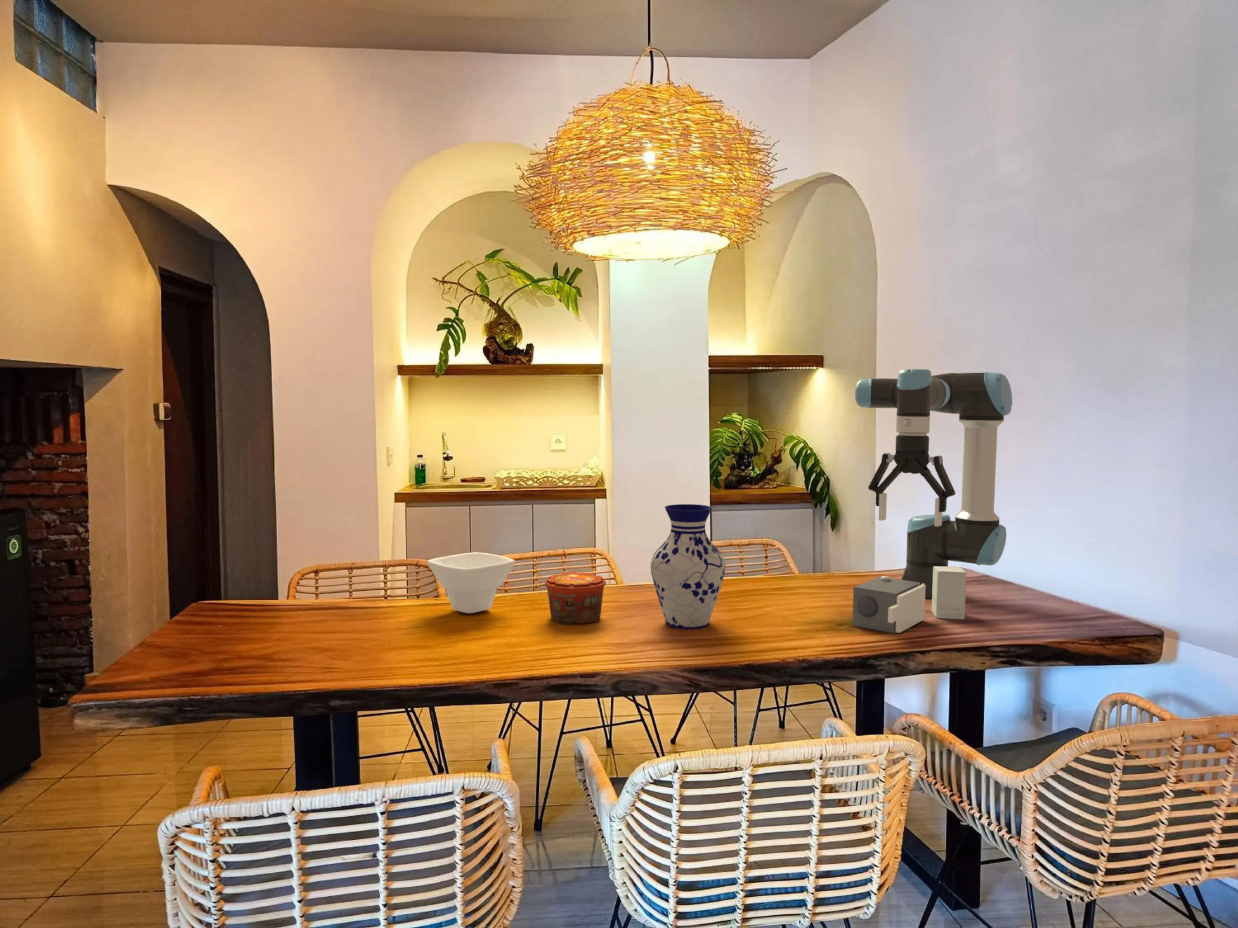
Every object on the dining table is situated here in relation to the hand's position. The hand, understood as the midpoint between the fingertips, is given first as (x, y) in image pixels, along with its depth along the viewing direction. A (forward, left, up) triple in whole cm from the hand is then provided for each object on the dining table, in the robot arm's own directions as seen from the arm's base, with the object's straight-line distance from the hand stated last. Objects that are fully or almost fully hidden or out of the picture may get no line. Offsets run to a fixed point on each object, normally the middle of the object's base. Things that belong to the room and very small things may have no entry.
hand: (909, 522), depth 206 cm
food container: (+40, -72, -28) cm, 87 cm away
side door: (-7, -2, -28) cm, 29 cm away
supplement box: (-27, +1, -28) cm, 39 cm away
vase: (+25, -47, -28) cm, 60 cm away
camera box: (-9, -9, -28) cm, 31 cm away
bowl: (+53, -98, -28) cm, 115 cm away
